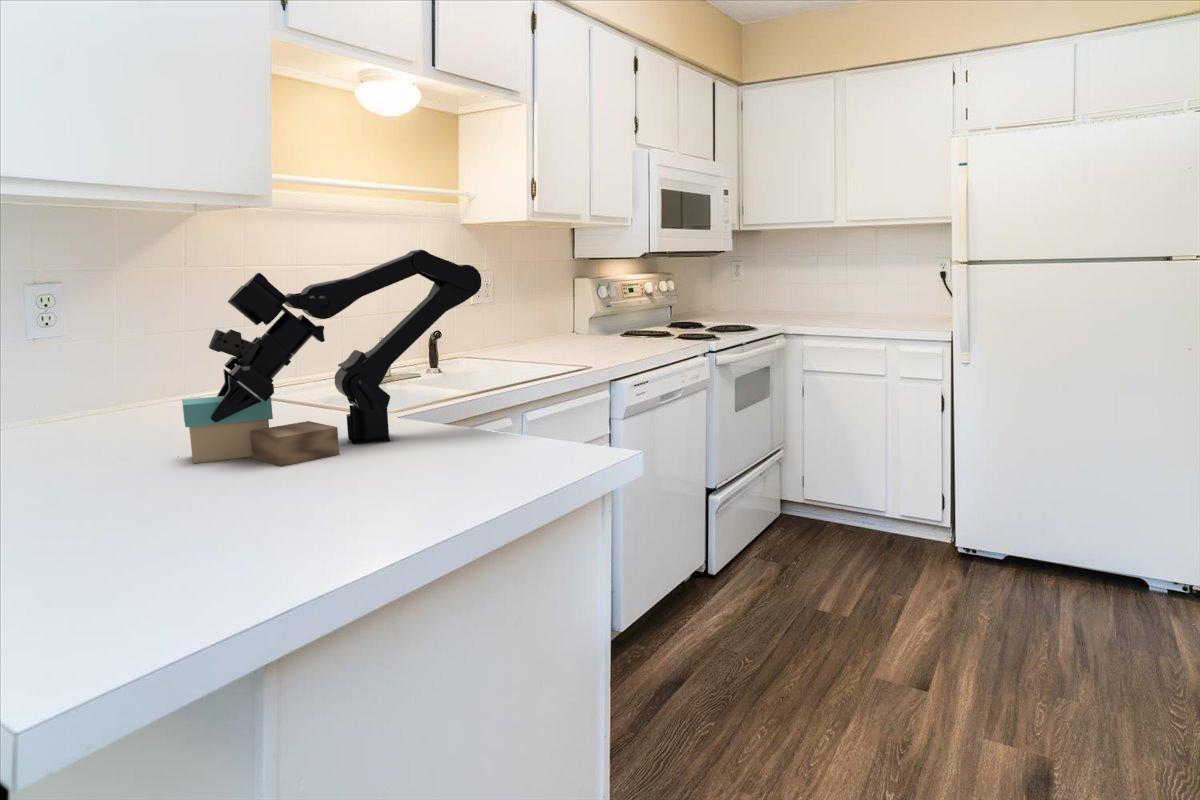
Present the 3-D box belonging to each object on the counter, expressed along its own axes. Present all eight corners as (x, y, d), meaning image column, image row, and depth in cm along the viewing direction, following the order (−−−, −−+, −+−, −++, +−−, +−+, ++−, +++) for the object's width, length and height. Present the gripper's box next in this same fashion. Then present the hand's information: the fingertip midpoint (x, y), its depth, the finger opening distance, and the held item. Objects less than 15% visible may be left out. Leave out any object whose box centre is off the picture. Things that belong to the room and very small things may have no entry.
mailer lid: (267, 413, 133) (266, 392, 133) (272, 418, 128) (271, 397, 127) (184, 420, 127) (182, 399, 127) (185, 427, 122) (183, 405, 121)
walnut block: (310, 447, 134) (308, 421, 133) (339, 454, 128) (337, 427, 127) (252, 458, 126) (250, 430, 125) (280, 466, 120) (278, 437, 120)
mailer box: (267, 448, 133) (262, 395, 132) (271, 454, 129) (266, 399, 127) (192, 456, 128) (186, 402, 127) (193, 463, 123) (187, 406, 122)
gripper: (233, 309, 134) (166, 378, 131) (243, 313, 118) (168, 392, 114) (286, 352, 139) (223, 420, 136) (303, 361, 123) (232, 439, 119)
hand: (211, 417), depth 126 cm, fingers closed on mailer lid, 7 cm apart
